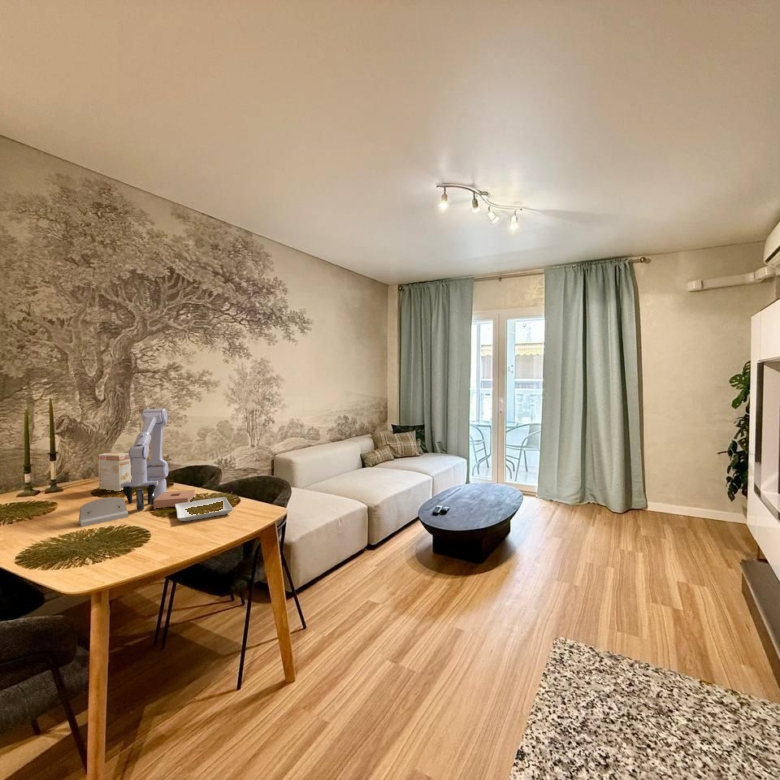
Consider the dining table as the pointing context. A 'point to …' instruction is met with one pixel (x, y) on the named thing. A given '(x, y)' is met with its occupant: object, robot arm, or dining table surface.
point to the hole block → (173, 498)
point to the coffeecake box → (114, 470)
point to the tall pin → (140, 499)
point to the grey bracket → (102, 511)
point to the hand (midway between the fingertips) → (140, 502)
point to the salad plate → (185, 515)
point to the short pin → (151, 499)
